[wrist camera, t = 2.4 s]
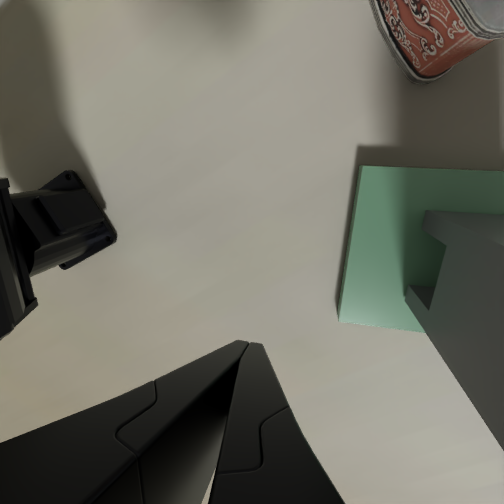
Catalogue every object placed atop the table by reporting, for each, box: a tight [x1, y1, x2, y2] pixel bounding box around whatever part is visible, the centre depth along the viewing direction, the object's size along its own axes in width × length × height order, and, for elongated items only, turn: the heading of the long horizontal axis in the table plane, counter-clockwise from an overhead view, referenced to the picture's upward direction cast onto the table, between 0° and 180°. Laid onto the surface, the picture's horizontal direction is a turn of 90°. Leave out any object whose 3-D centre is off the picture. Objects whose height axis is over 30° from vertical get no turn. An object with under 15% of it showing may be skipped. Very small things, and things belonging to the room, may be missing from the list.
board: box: [337, 165, 504, 333], centre depth 18 cm, size 19×11×1 cm, turn 88°
